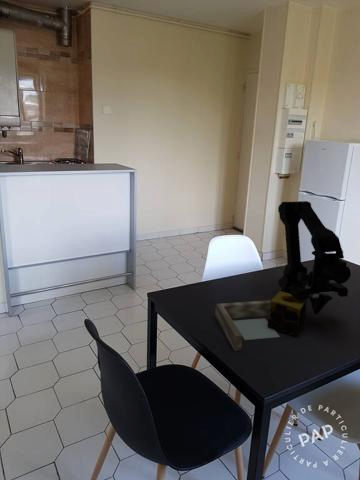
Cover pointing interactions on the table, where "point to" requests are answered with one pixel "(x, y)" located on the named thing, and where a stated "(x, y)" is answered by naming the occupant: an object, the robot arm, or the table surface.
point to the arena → (239, 311)
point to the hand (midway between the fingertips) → (315, 313)
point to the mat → (255, 329)
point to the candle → (287, 313)
